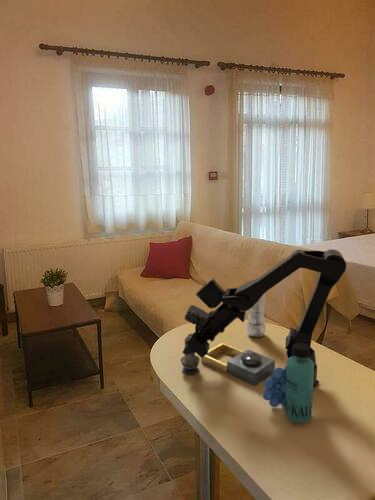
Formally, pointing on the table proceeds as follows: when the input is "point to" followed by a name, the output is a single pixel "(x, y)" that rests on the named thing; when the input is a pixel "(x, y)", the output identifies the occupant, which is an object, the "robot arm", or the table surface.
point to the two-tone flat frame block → (241, 364)
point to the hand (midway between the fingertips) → (185, 350)
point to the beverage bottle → (299, 384)
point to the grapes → (276, 387)
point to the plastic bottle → (256, 319)
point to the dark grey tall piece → (190, 362)
